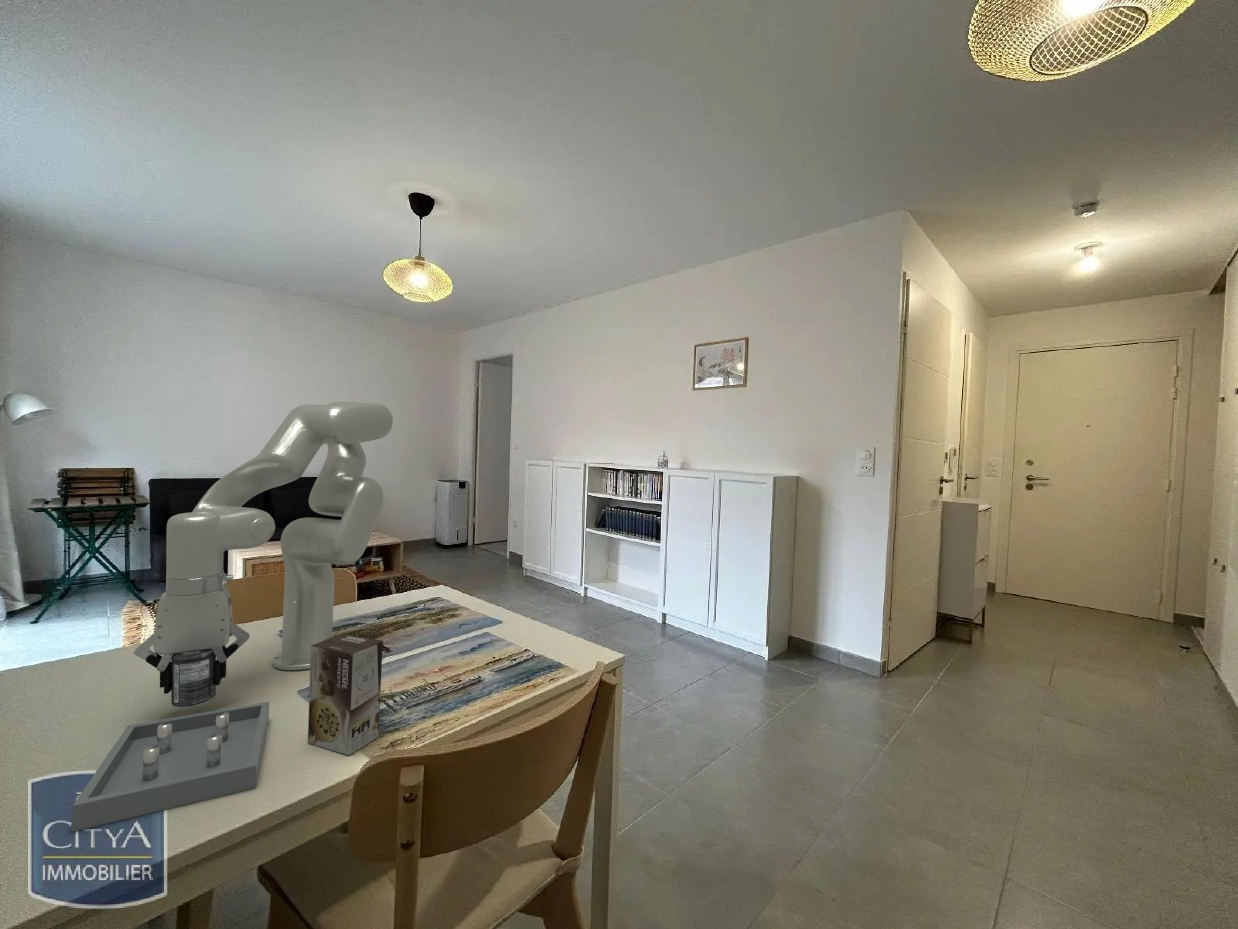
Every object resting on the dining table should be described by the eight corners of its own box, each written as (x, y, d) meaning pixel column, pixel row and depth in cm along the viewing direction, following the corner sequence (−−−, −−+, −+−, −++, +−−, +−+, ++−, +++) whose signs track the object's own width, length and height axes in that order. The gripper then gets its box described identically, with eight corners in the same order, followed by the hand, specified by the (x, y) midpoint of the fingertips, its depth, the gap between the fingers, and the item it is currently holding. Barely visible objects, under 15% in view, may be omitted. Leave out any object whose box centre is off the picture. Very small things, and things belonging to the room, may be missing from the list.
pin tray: (268, 719, 86) (269, 690, 86) (255, 788, 69) (257, 751, 69) (127, 745, 77) (128, 712, 77) (71, 832, 60) (73, 789, 60)
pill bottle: (189, 691, 90) (189, 629, 89) (223, 691, 90) (224, 630, 90) (161, 709, 84) (162, 643, 83) (199, 709, 84) (199, 643, 84)
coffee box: (380, 736, 83) (385, 640, 83) (348, 757, 77) (353, 654, 77) (339, 724, 86) (343, 631, 86) (304, 743, 80) (309, 643, 80)
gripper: (258, 574, 94) (257, 668, 95) (134, 583, 85) (133, 687, 86) (254, 584, 87) (252, 685, 88) (119, 596, 79) (118, 708, 79)
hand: (194, 685), depth 87 cm, fingers closed on pill bottle, 6 cm apart
